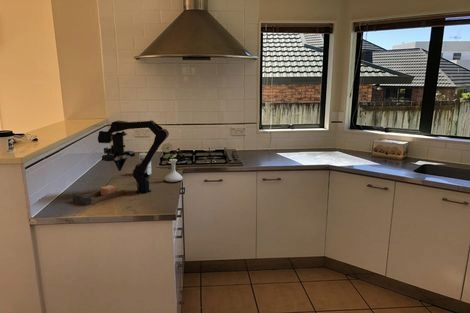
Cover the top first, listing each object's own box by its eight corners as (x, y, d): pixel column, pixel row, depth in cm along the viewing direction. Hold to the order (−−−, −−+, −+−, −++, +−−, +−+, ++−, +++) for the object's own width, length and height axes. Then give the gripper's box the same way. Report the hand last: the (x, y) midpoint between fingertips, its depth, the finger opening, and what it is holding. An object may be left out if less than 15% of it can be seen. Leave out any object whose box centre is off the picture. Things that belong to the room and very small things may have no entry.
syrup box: (139, 175, 238) (138, 153, 235) (144, 173, 243) (144, 152, 241) (146, 175, 236) (146, 154, 233) (151, 173, 241) (151, 153, 239)
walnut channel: (124, 193, 197) (124, 186, 196) (86, 205, 178) (85, 197, 177) (111, 190, 203) (111, 183, 202) (73, 201, 183) (72, 194, 183)
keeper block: (117, 194, 196) (116, 186, 195) (108, 197, 191) (107, 189, 190) (109, 192, 199) (109, 185, 198) (100, 195, 194) (100, 187, 193)
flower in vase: (182, 178, 231) (182, 140, 226) (183, 183, 220) (182, 143, 215) (162, 178, 229) (161, 140, 224) (161, 183, 218) (160, 143, 213)
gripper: (122, 140, 208) (123, 165, 211) (94, 144, 193) (96, 171, 196) (135, 141, 202) (136, 168, 206) (107, 146, 187) (109, 174, 190)
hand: (119, 170), depth 199 cm, fingers closed
